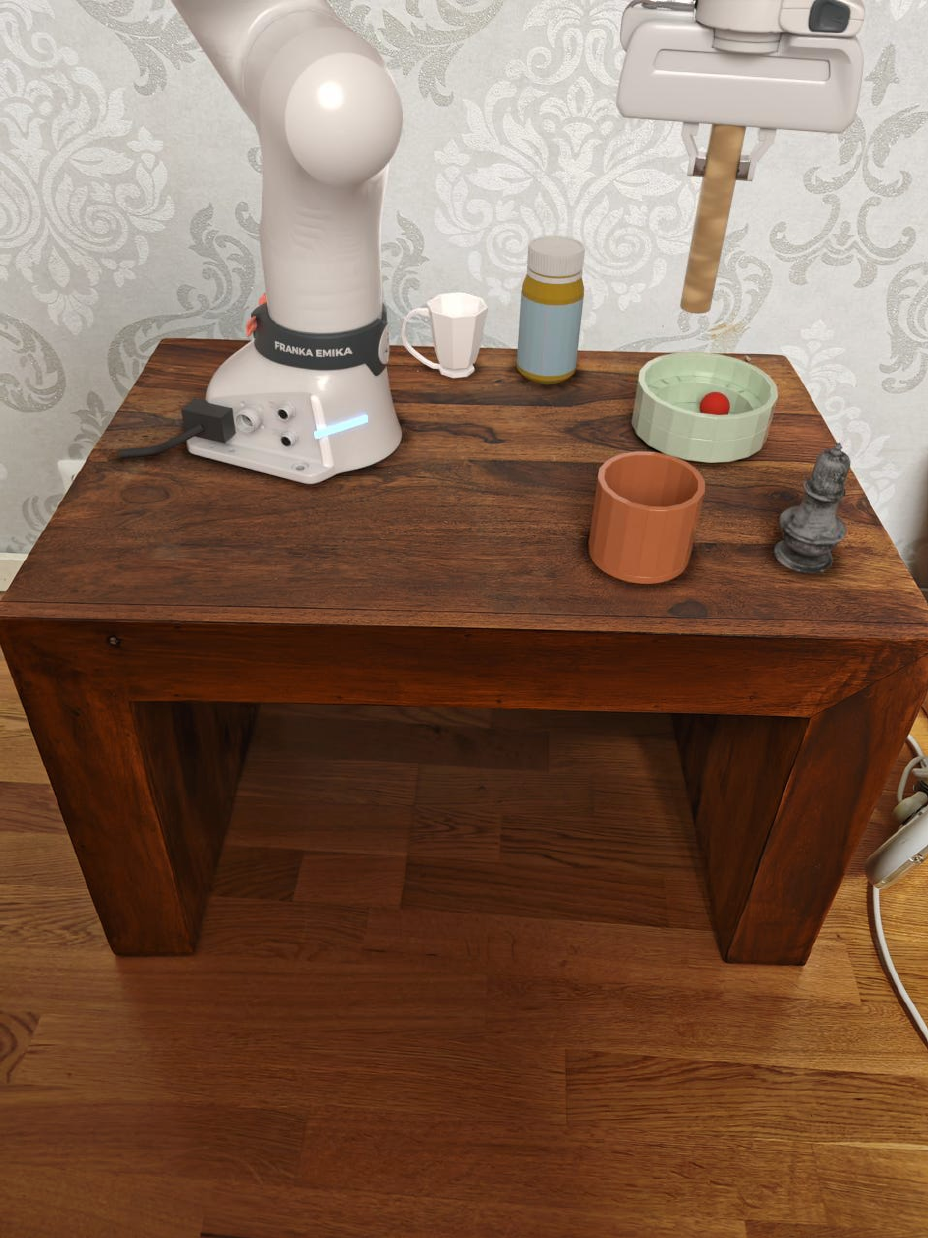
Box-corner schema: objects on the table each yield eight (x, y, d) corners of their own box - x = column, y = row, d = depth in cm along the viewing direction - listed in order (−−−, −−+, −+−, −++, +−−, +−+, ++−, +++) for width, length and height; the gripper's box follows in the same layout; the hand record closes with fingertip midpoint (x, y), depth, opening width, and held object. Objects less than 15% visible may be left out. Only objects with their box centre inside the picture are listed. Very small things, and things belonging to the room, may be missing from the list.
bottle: (572, 388, 112) (586, 260, 102) (513, 382, 113) (521, 254, 103) (577, 361, 117) (590, 236, 108) (519, 355, 118) (528, 231, 108)
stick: (679, 311, 95) (714, 111, 83) (680, 299, 97) (714, 102, 85) (710, 315, 95) (750, 113, 83) (710, 302, 97) (749, 104, 85)
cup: (481, 386, 112) (483, 319, 107) (396, 378, 113) (395, 312, 108) (489, 358, 117) (492, 294, 112) (408, 351, 118) (407, 286, 113)
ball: (696, 425, 105) (702, 398, 103) (697, 410, 108) (702, 384, 105) (726, 428, 105) (732, 402, 103) (726, 414, 107) (732, 388, 105)
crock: (583, 576, 86) (593, 502, 81) (593, 517, 93) (603, 445, 88) (687, 591, 85) (704, 517, 80) (689, 530, 92) (705, 457, 87)
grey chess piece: (791, 580, 87) (828, 465, 79) (758, 541, 91) (790, 429, 83) (848, 569, 88) (890, 456, 80) (813, 532, 92) (850, 421, 84)
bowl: (626, 459, 101) (634, 408, 97) (635, 393, 112) (642, 345, 108) (766, 477, 99) (781, 425, 95) (762, 408, 110) (774, 359, 106)
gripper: (621, -3, 78) (602, 178, 87) (886, 12, 75) (837, 197, 84) (627, -17, 82) (608, 157, 91) (876, -2, 80) (831, 175, 89)
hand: (719, 176), depth 88 cm, fingers closed on stick, 3 cm apart
